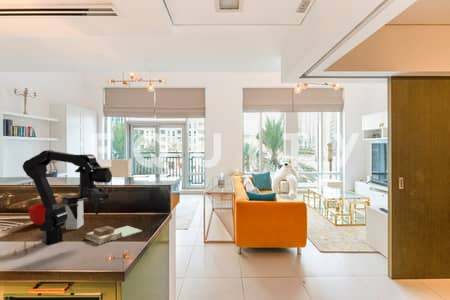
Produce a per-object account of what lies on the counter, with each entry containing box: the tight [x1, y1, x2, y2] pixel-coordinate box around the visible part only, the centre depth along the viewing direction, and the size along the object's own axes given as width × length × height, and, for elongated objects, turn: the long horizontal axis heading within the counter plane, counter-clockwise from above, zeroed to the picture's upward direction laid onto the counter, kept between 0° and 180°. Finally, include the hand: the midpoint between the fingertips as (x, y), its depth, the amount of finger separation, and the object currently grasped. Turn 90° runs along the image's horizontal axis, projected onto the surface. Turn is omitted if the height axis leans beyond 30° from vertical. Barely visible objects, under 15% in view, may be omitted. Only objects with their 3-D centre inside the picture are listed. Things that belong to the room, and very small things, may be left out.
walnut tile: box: [92, 225, 115, 236], centre depth 122 cm, size 7×6×2 cm
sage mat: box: [114, 225, 143, 238], centre depth 132 cm, size 11×13×1 cm
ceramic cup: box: [28, 203, 45, 227], centre depth 145 cm, size 13×17×10 cm
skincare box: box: [65, 200, 85, 230], centre depth 138 cm, size 8×6×15 cm
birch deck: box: [85, 230, 123, 245], centre depth 122 cm, size 11×12×2 cm
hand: (86, 216), depth 116 cm, fingers open, 9 cm apart
